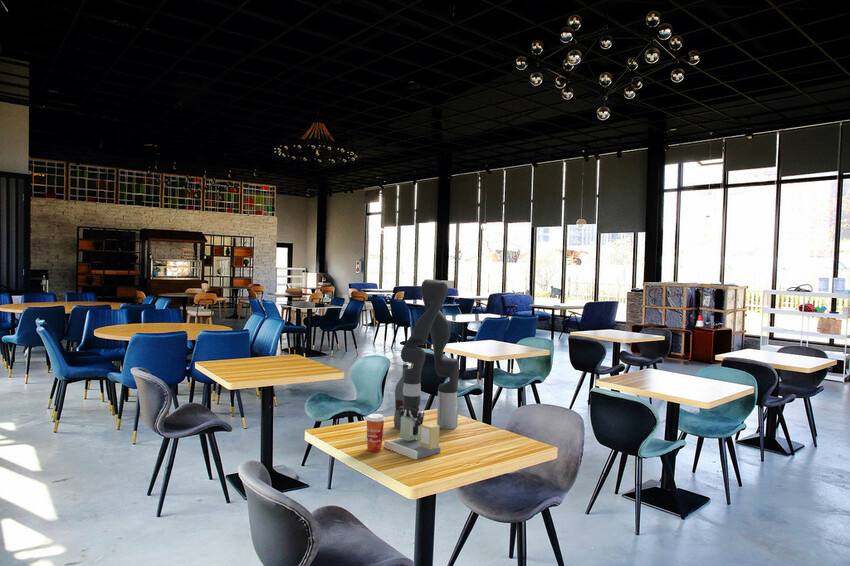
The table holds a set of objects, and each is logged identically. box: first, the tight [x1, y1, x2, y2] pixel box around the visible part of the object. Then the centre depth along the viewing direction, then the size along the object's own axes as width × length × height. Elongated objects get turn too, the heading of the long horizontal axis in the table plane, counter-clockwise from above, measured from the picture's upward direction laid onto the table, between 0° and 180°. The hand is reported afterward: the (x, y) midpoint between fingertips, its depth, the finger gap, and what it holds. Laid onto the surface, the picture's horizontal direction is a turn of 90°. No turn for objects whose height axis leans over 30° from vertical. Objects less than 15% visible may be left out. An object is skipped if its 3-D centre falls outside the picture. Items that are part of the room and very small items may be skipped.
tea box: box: [399, 416, 421, 441], centre depth 228 cm, size 5×7×9 cm
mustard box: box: [419, 422, 440, 450], centre depth 220 cm, size 5×6×9 cm
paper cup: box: [365, 413, 386, 453], centre depth 220 cm, size 8×8×14 cm
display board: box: [383, 438, 441, 460], centre depth 222 cm, size 14×19×3 cm
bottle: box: [393, 364, 409, 431], centre depth 254 cm, size 9×9×30 cm
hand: (410, 433), depth 228 cm, fingers closed on tea box, 5 cm apart
